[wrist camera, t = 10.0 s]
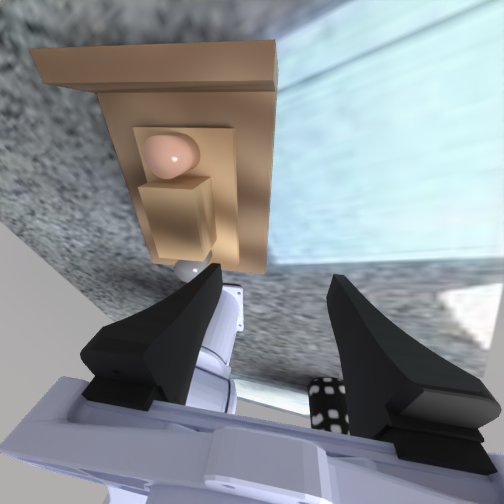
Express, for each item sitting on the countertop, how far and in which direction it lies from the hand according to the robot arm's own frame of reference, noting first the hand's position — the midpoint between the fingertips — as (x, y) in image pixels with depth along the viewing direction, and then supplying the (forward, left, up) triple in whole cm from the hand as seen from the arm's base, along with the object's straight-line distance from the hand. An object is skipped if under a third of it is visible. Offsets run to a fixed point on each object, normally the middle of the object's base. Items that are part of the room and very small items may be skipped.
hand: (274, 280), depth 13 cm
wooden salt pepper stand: (+2, +8, -8) cm, 11 cm away
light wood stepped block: (+3, +8, -10) cm, 13 cm away
